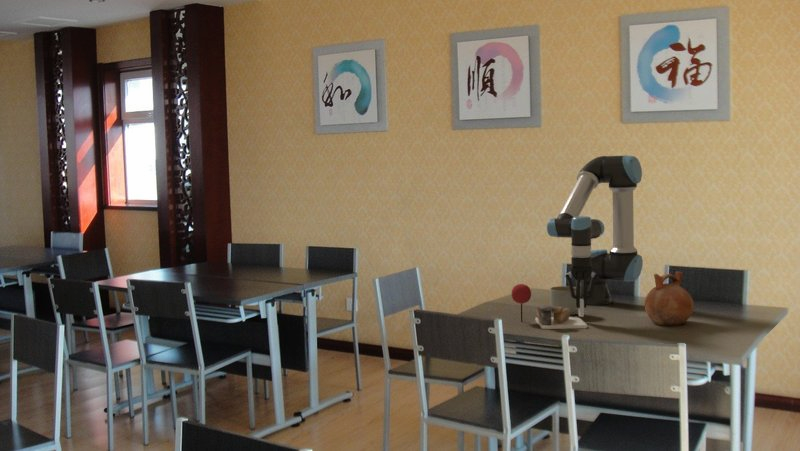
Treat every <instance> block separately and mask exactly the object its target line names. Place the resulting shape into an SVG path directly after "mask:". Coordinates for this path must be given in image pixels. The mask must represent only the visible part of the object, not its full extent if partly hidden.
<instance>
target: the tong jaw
mask: <svg viewBox="0 0 800 451" xmlns="http://www.w3.org/2000/svg"><path fill="white" fill-rule="evenodd" d="M539 307H540V310H541V311H551V314H553V317H554V323H563V322H564V321H566V320H567V319H569V317H570V316H569V308H563V307H558V306H555V307H551V305H550V306H549V305H547V306H546V305H543V306H539Z"/></svg>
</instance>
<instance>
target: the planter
mask: <svg viewBox="0 0 800 451" xmlns="http://www.w3.org/2000/svg"><path fill="white" fill-rule="evenodd" d="M573 288H574V292H575V295H576V286H573ZM580 295H581V289H580ZM549 297H550V298H549V300H550V306H551V307H555V306H558V307H563V308H569V317H574V315H575V316H576V314H578V313H579V308H577V307H576V299H574V298H572V297H571V293H570V289H569V285H568V286H567V285H564V286H563V285H560V286H553V287H550V288H549Z"/></svg>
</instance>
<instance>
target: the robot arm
mask: <svg viewBox="0 0 800 451" xmlns="http://www.w3.org/2000/svg"><path fill="white" fill-rule="evenodd" d="M642 176H643V170H642V166H641V162H640V160H639V159H638V158H637V157H636V156H634V155H603V156H602V155H601V156H597V157H595V158H593V159H591V160H590V161H588V162H587V163H586V164H585V165H584V166H582V167H581V169H580V170H579V171H578V174H577V176H576V183H575V184H574V186H573V188H572V190H571V192H570V193H569V195H568V198H567V200H566V201H565V203H564V205H563V206H562V207H561V210H560V212H559V214H558V216H557V218H555V217H554V218H550V219H549V220H548V221H547V225H546V231H547V232H546V233H547V234H548V235H549V236H550V237H553V238H566V239H567V238H571V260H570V261H571V263H570V264H571V268H570V270H569V272H567V273H565V274H564V277H565V278H566V281H567V284H568V286H569V289H570V293H571V297H572V298H574V299H576V307H577V308H579V311H578V317H579V318H580V317H581V318H582V317H585V309H586V308H587V305H590V306H591V305H593V306H598V305H603V306H604V305H608V304H609V305H610V304H611V303H612V297H611V294H610V293H611V292H610V290H609V287H608V281H619V282H620V281H621V282H635V281H637V280H638V279H639V277H640V275H641V273H642V271H643V261H644V260H643V257H642V255H640V254H638V249H637V248H636V247H635V245H634V242H635V241H634V238H635V237H634V234H635V233H634V232H635V231H634V191H635V190H636V188H638V187H637V186H638V184H640V183H641V181H642ZM600 184H608V188H609V190H611V191H612V247H611V248H610V249H609V252H608V249H594V250H592V239H593V240H594V239H598V238H599V237H601V236H603V235H604V233H605V228H606V227H605V224H604V223H603V221H601V220H600V219H597V218H596V219H595V218H593V219H592V218H591V217H590V216H585V215H584V216H583V215H581V213H582V211H583V209H584V208H585V205H586V203H587V202H588V200H589V198H590V197H591V194H592V193H593V190H594V189H596V188H597V187H598V186H599V185H600ZM580 215H581V216H580ZM572 277H574V280H575V287H576V295H575V292H574V288H573V287H574V285H573V280H572ZM580 289H581V295H580Z"/></svg>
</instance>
